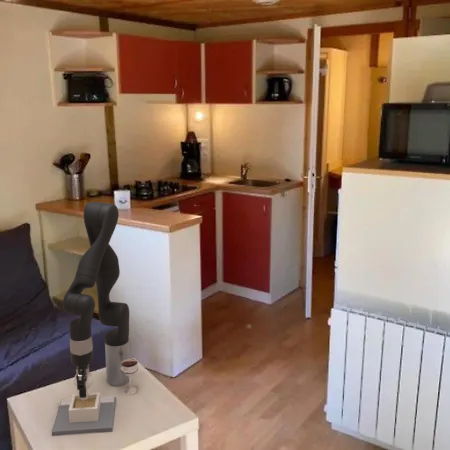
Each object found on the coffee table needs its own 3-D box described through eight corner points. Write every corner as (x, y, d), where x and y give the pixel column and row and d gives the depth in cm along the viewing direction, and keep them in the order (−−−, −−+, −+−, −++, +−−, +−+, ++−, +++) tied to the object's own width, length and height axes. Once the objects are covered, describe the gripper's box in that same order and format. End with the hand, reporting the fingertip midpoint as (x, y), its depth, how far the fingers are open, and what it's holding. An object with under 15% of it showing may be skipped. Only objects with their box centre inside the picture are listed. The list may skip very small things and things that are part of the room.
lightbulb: (86, 392, 186) (85, 364, 183) (97, 398, 182) (96, 371, 179) (71, 400, 181) (69, 372, 179) (82, 407, 177) (80, 378, 175)
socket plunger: (76, 403, 186) (76, 399, 185) (96, 402, 187) (96, 398, 186) (73, 415, 179) (73, 411, 179) (94, 413, 180) (94, 410, 180)
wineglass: (141, 386, 203) (140, 358, 200) (136, 396, 196) (135, 368, 193) (124, 384, 204) (123, 357, 200) (119, 394, 197) (117, 366, 194)
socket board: (61, 403, 191) (59, 388, 189) (116, 400, 194) (115, 385, 192) (51, 435, 174) (50, 419, 172) (112, 431, 176) (111, 414, 175)
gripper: (73, 339, 183) (76, 381, 187) (66, 359, 169) (70, 404, 174) (95, 338, 184) (97, 379, 188) (90, 358, 170) (92, 403, 175)
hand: (84, 391), depth 181 cm, fingers closed on lightbulb, 6 cm apart
